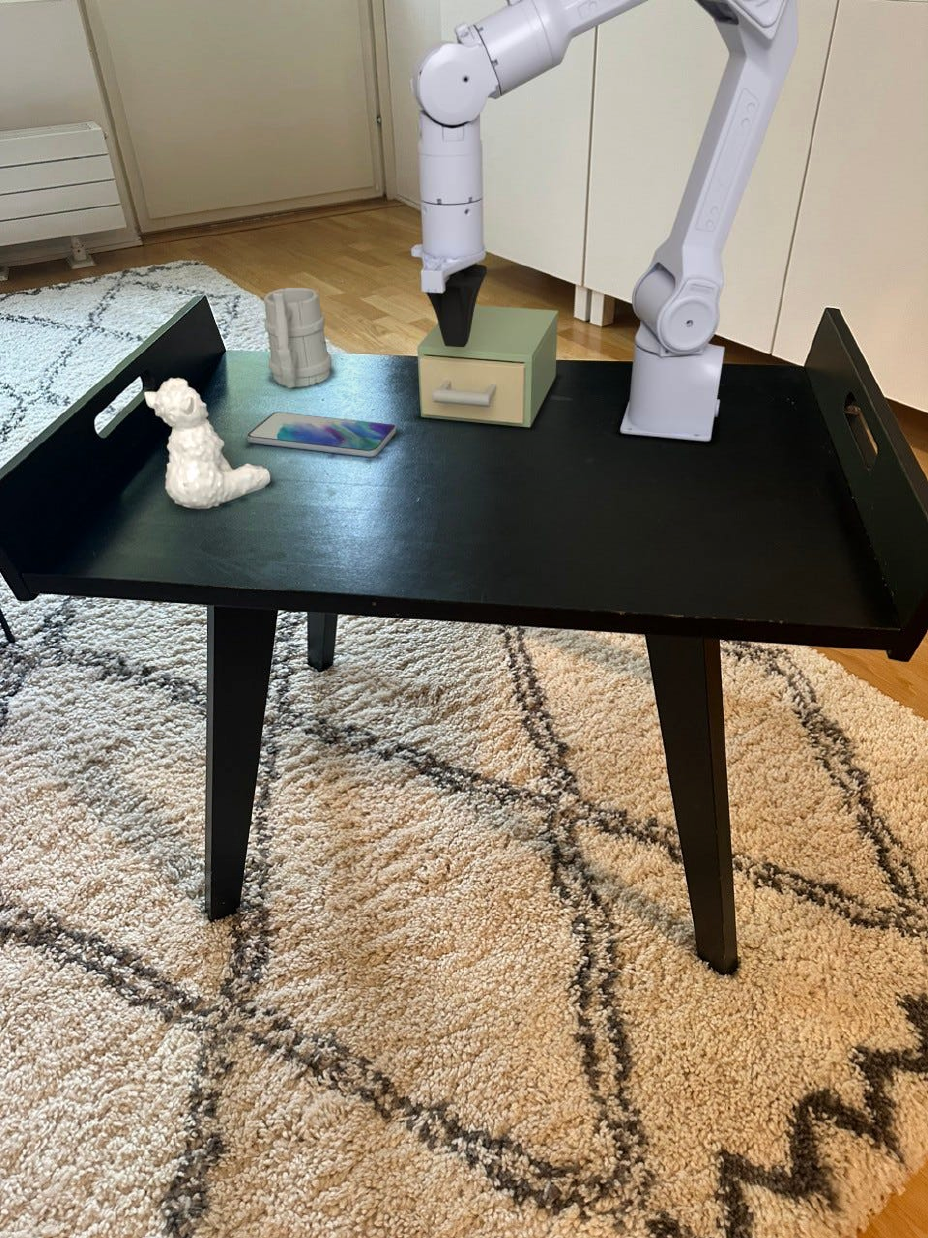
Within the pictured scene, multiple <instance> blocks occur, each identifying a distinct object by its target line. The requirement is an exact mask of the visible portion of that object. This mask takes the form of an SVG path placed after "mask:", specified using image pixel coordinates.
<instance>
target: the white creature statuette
mask: <svg viewBox="0 0 928 1238" xmlns="http://www.w3.org/2000/svg"><path fill="white" fill-rule="evenodd" d="M143 394H144V399H145V402H146V405H147V406H148V407H149V408H150V409H154V413H155V416H156V417H160V418H161V419H162V420H163V422H164V423H165V424H167V425H168V426H169V427H171V428H172V429H171V434H170V436H168V443H167V445H166V448H167V450H168V452H169V455H168V460H169V462H167V464H166V472H165V483H164V484H165V490H166V493H167V494H168V496H169V497H170V498H171V499H172V500H173V501H174V504H176V505H179V506H182V507H185V508H188V509H192V510H206V509H210V508H212V507H218V506H220V505H221V504H224V503H227V502H230V501H232V500H234V499H237V498H241V497H243V496H246V495H248V494H251V493H254V492H257V491H260V490H263V489H265V488H266V486H267V485H269V484H270V482H271V474H270V471H268V469H267V468H264V467H263V466H262V465H254V464H253V465H252V464H251V463H245V464H244V465H243V466H239V467H238V468H236V469H233V468H232V467H231V465H230V463H229V461H228V460H227V459H226V458H225V456H224V455H223V451H222V449H223V447H224V446H225V441H224V440H223V439H221V438H220V437H219V435H218V432H215V430H214V427H213V425H212V424H211V423H210V421H209V420H208V418H207V417H208V416H209V412H208V411H207V406H208V405H207V404H206V403H205V402H203V401H202V399H201V395H200V393H198V392H197V391H196V389H195V388H193V387H190V386H189V383H188V381H187V380H185V379H184V378H180V377H176V378H173V377H171V378H168V380H166V381H163V383H162V384H161V385H160V387H159V389H158V390H157V391H144V392H143Z"/></svg>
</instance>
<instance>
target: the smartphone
mask: <svg viewBox="0 0 928 1238" xmlns="http://www.w3.org/2000/svg"><path fill="white" fill-rule="evenodd" d="M396 433H397V426H396V425H395V424H391V423H383V422H373V421H365V420H357V419H356V420H355V419H348V418H347V419H346V418H337V417H329V416H318V415H312V414H311V415H310V414H301V413H300V414H299V413H291V412H282V411H275V412H272V413H271V414H269V415H268V416H266V418H264V420H262V421H261V422H260V423H259V424H257V426H255V427H254V428H253V429H251V431H249V432H248V433H247V434H246V441H247V442H248V443H251V444H258V445H267V446H274V447H281V448H282V447H283V448H291V449H301V450H307V451H315V452H325V453H332V454H336V455H345V456H354V457H361V458H374V457H376V456H377V455H378V454H379V453H380V452H381V451H382V450H383V449H384V447H385V446H386V445H387V444H388V443H389V442H390V440H391V439H392V438H393V437H394V436H395V435H396Z"/></svg>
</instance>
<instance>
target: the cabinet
mask: <svg viewBox="0 0 928 1238" xmlns="http://www.w3.org/2000/svg"><path fill="white" fill-rule="evenodd" d="M558 324H559V311H558V310H556V309H555V310H553V309H538V308H524V307H511V306H509V307H508V306H497V305H496V306H495V305H482V304H481V305H480V304H475V308H474V313H473V319H472V325H471V330H470V335H469V339H468V343H467V344H466V346H465V347H449V346H445V344H444V341H443V338H442V335H441V331H440V327H439V323H438V322H437V323H436V324H435V325H434V327H433V328H432V329H431V330H430V331H429V332H428V333H427V335H425V337H424V338H423V339H422V341H421V342H419V344H418V345H417V346H416V351H417V352H416V353H417V370H418V371H417V372H418V386H419V404H420V405H419V407H420V417H421V418H430V419H439V420H440V419H441V420H450V421H462V422H469V423H470V422H471V423H479V424H480V423H482V424H490V425H500V426H501V425H502V426H510V427H511V426H512V427H523V428H531V426H532V425H533V423H534V421H535V418H536V416H537V415H538V413H539V411H540V409H541V406H542V405H543V403H544V400H545V398H546V397H547V395H548V392H549V390H550V388H551V386H552V385H553V383H554V381H555V380H556V379H555V378H556V373H557V372H556V371H557V349H558ZM433 355H442V356H454V357H467V358H479V359H491V360H504V361H516V362H524V364H526V384H525V420H524V422H523V423H522V424H520V423H510V422H499V421H489V420H479V419H468V418H458V417H448V416H437V415H427V414H422V396H421V378H420V358H421V357H422V356H433Z"/></svg>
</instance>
